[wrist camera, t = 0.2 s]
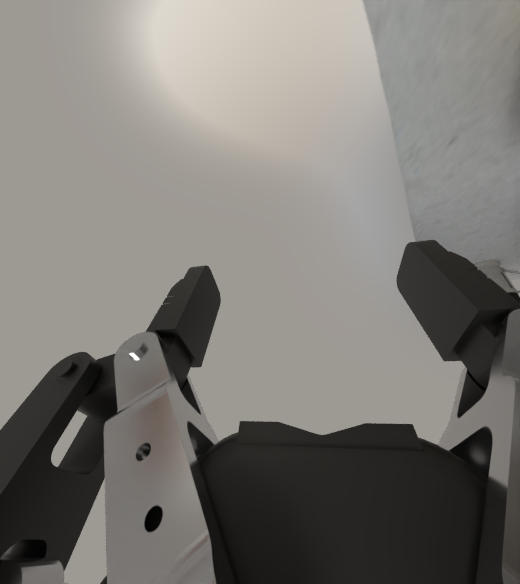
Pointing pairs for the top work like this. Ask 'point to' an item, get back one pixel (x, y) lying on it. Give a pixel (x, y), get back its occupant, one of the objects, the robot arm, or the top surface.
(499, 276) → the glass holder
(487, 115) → the top surface
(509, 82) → the top surface
